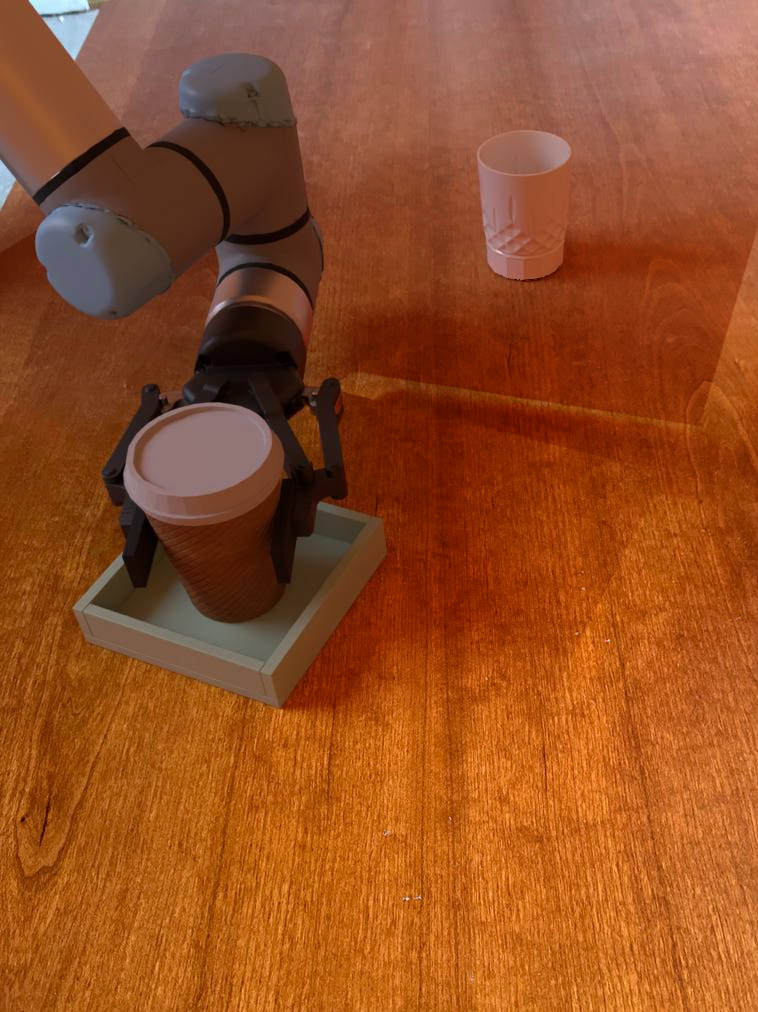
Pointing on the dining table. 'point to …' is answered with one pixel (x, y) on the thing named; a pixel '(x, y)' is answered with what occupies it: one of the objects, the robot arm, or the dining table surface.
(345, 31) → the dining table surface
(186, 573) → the disposable coffee cup
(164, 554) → the square tray
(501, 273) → the white cup
